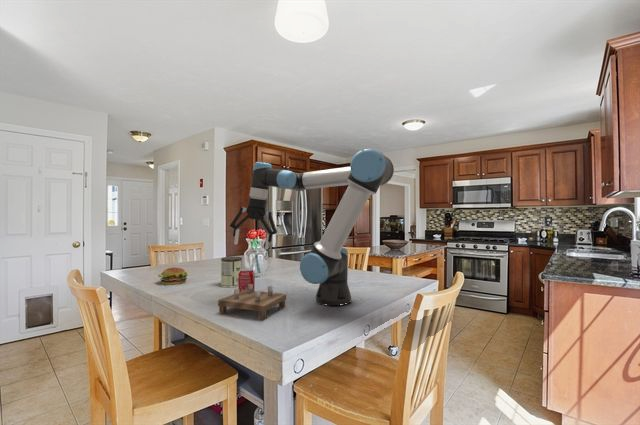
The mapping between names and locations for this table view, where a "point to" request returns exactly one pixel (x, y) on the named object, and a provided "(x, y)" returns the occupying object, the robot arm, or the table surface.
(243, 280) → the soda can
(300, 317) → the table surface
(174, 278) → the food
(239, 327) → the table surface
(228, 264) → the coffee can
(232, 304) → the peg shelf
